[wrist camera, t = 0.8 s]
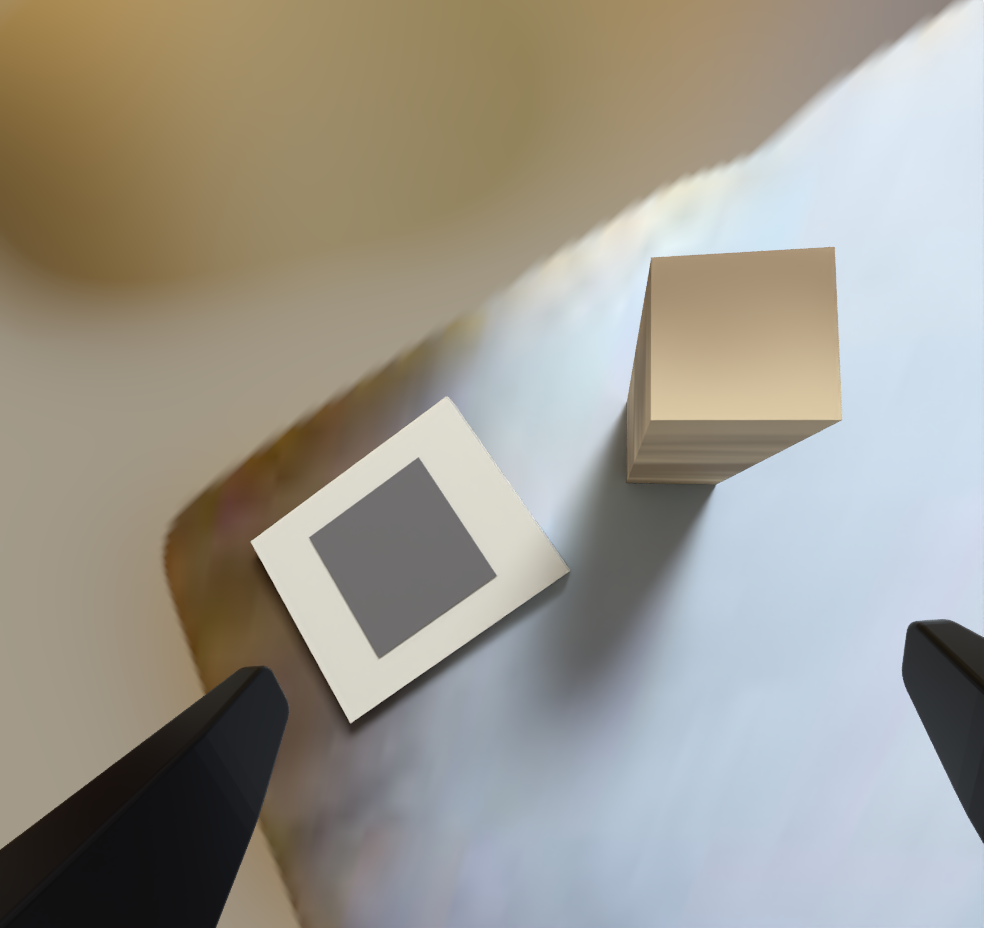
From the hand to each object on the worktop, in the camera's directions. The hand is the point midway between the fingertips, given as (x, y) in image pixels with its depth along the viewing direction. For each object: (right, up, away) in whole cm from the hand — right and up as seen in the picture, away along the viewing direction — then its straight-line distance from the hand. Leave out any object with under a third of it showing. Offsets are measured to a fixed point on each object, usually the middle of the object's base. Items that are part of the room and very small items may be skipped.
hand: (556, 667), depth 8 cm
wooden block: (+6, +4, +15) cm, 17 cm away
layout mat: (-5, -1, +16) cm, 17 cm away
